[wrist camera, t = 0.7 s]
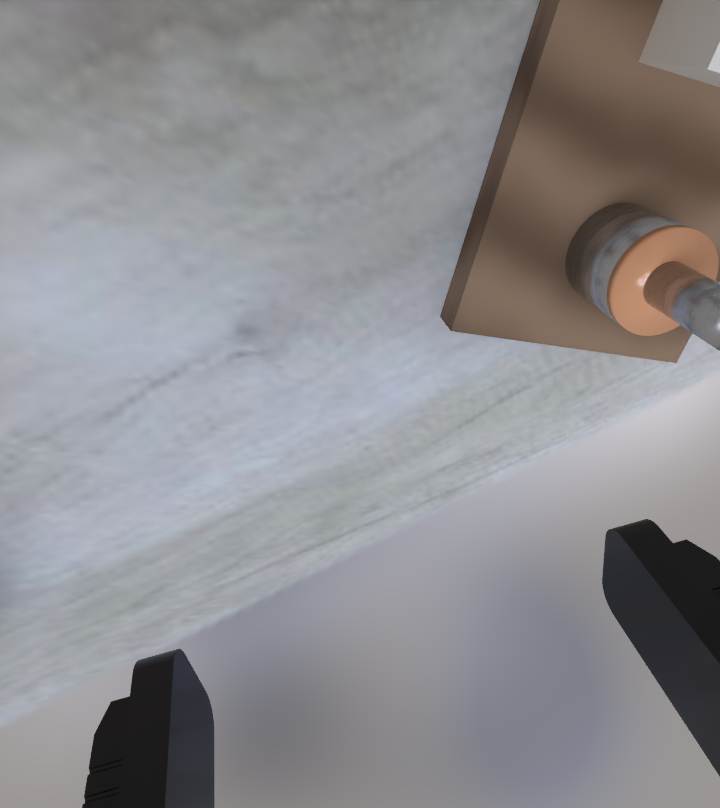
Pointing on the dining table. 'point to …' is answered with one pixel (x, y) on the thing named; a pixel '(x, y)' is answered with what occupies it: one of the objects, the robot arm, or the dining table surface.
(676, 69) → the collar
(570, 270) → the pipe stand
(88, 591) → the dining table surface
